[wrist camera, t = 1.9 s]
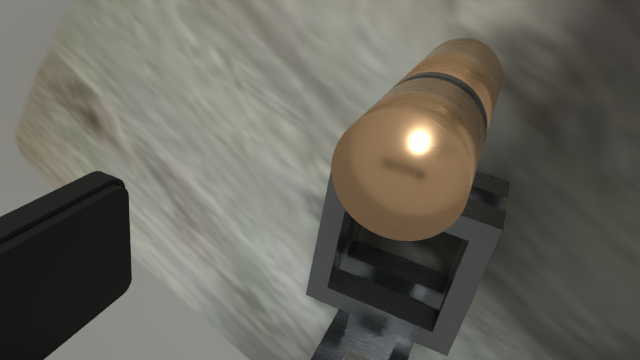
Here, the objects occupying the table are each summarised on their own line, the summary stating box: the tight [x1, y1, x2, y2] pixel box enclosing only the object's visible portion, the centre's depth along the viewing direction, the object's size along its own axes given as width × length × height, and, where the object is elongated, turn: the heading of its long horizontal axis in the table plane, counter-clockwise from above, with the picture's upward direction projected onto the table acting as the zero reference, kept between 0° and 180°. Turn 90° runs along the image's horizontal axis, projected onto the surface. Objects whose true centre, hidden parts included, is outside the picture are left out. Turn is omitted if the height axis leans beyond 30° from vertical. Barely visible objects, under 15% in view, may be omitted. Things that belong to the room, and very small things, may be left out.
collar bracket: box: [306, 172, 509, 360], centre depth 28 cm, size 9×13×10 cm
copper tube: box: [331, 38, 502, 241], centre depth 20 cm, size 4×4×14 cm
